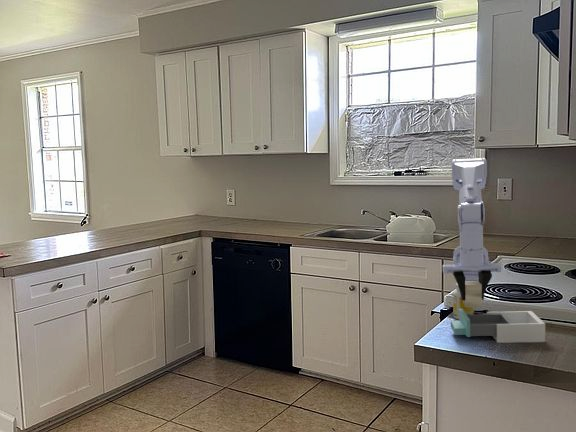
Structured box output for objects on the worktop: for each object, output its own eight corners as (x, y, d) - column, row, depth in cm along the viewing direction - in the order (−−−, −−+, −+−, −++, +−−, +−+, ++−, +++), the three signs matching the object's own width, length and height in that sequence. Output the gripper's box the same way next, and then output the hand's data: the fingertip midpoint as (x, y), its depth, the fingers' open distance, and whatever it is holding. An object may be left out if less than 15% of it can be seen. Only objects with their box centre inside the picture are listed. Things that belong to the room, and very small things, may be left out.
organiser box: (487, 328, 140) (486, 311, 140) (531, 327, 139) (531, 311, 138) (497, 342, 130) (497, 324, 130) (545, 342, 129) (545, 323, 128)
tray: (449, 324, 141) (449, 309, 140) (501, 323, 139) (501, 307, 139) (456, 337, 132) (456, 320, 131) (511, 336, 130) (511, 319, 130)
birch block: (462, 303, 145) (462, 281, 144) (478, 302, 144) (478, 280, 144) (466, 307, 141) (465, 285, 140) (481, 307, 141) (481, 284, 140)
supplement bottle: (449, 317, 150) (448, 284, 149) (460, 313, 154) (460, 280, 152) (466, 321, 146) (466, 287, 145) (477, 317, 150) (477, 283, 148)
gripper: (445, 252, 138) (446, 304, 139) (504, 250, 136) (505, 302, 138) (440, 247, 145) (442, 296, 146) (497, 245, 143) (497, 295, 145)
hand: (472, 298), depth 143 cm, fingers closed on birch block, 4 cm apart
